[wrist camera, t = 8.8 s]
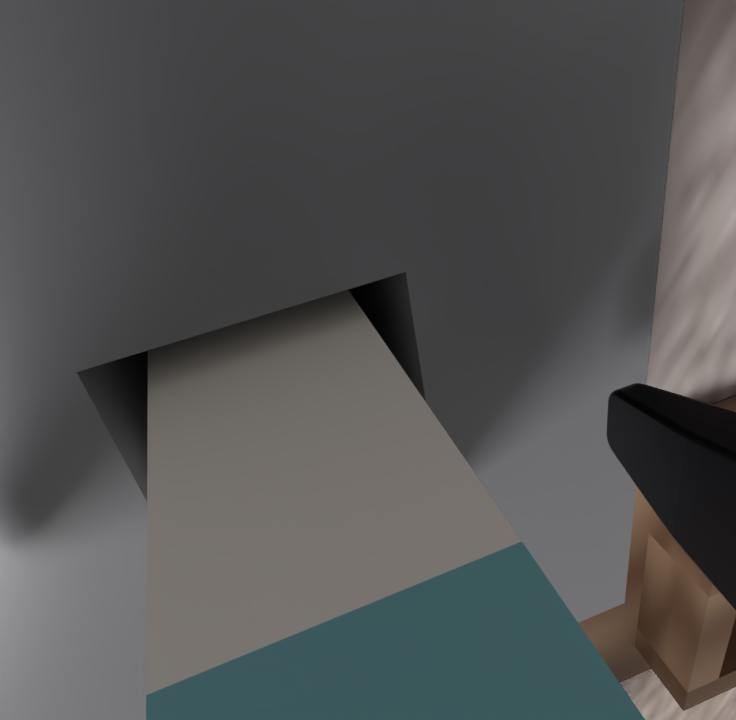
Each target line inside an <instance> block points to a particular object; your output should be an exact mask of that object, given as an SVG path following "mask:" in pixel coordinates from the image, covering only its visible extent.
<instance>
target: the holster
mask: <svg viewBox="0 0 736 720" xmlns="http://www.w3.org/2000/svg"><path fill="white" fill-rule="evenodd" d="M713 405H716V406H719V407H722V408H726V409H729V410H732V411H736V396H734V397H731V398H729V399H726V400H723V401H721V402H718V403H715V404H713ZM579 625H580V626H581V628H582V629H583V631H584V632H585V634H586V635H587V637H588V638H589V639H590V641H591V642H592V644H593V645H594V647H595V648H596V650H597V651H598V652H599V654H600V655H601V657H602V658H603V660H604V661H605V663H606V664H607V665H608V667H609V668H610V670H611V671H612V673H613V674H614V676H615V677H616V679H617V680H618V681H619V683H620V682H622V681H624V680H626V679H629V678H631V677H633V676H635V675H638V674H640V673H642V672H644V671H647V670H649V669H651V668H652V670H653V671H654V672H655V674H656V675H657V676H658V678H659V679H660V680H661V682H662V683H663V684H664V686H665V687H666V688H667V690H668V691H669V692H670V694H671V695H672V696H673V698H674V699H675V700H676V702H677V703H678V704H679V706H680V707H681V708H682V710H683V711H684V710H687V709H689V708H691V707H693V706H695V705H697V704H699V703H702V702H704V701H706V700H708V699H710V698H712V697H715V696H717V695H719V694H721V693H723V692H725V691H728V690H730V689H732V688H734V687H736V610H735V609H734V608H733V607H732V606H731V605H730V603H729V602H728V601H727V600H726V599H725V598H724V596H723V595H722V594H721V593H720V592H719V591H718V589H717V588H716V587H715V586H714V585H713V584H712V583H711V581H710V580H709V579H708V578H707V577H706V576H705V574H704V573H703V572H702V571H701V570H700V569H699V567H698V566H697V565H696V564H695V563H694V562H693V560H692V559H691V558H690V557H689V556H688V555H687V553H686V552H685V551H684V550H683V549H682V548H681V546H680V545H679V544H678V543H677V541H676V540H675V539H674V538H673V537H672V535H671V534H670V533H669V531H668V530H667V529H666V527H665V526H664V525H663V523H662V522H661V520H660V519H659V518H658V516H657V515H656V513H655V512H654V510H653V509H652V508H651V506H650V505H649V503H648V502H647V500H646V499H645V497H644V496H643V495H642V493H641V492H640V490H639V489H638V487H637V486H636V493H635V503H634V513H633V523H632V533H631V543H630V553H629V563H628V573H627V583H626V594H625V603H623V604H621V605H619V606H616V607H614V608H612V609H609V610H607V611H605V612H602V613H600V614H597V615H595V616H593V617H590V618H588V619H586V620H583V621H581V622H579Z"/></svg>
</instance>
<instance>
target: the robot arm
mask: <svg viewBox="0 0 736 720" xmlns="http://www.w3.org/2000/svg"><path fill="white" fill-rule="evenodd" d="M606 434H607V441H608V443H609V446H610V448H611V450H612V451H613V453H614V454H615V456H616V457H617V459H618V460H619V462H620V463H621V464H622V466H623V467H624V469H625V470H626V472H627V473H628V475H629V476H630V477H631V479H632V480H633V482H634V483H635V485H636V486H637V487H638V489H639V490H640V492H641V493H642V495H643V496H644V497H645V499H646V500H647V502H648V503H649V505H650V506H651V508H652V509H653V510H654V512H655V513H656V515H657V516H658V518H659V519H660V520H661V522H662V523H663V525H664V526H665V527H666V529H667V530H668V531H669V533H670V534H671V535H672V537H673V538H674V539H675V540H676V541H677V543H678V544H679V545H680V546H681V548H682V549H683V550H684V551H685V552H686V553H687V555H688V556H689V557H690V558H691V559H692V560H693V562H694V563H695V564H696V565H697V566H698V567H699V569H700V570H701V571H702V572H703V573H704V574H705V576H706V577H707V578H708V579H709V580H710V581H711V583H712V584H713V585H714V586H715V587H716V588H717V589H718V591H719V592H720V593H721V594H722V595H723V596H724V598H725V599H726V600H727V601H728V602H729V603H730V605H731V606H732V607H733V608H734V609H735V610H736V411H732V410H729V409H726V408H722V407H719V406H716V405H712V404H709V403H705V402H702V401H699V400H695V399H692V398H689V397H685V396H682V395H679V394H675V393H672V392H668V391H665V390H662V389H658V388H655V387H652V386H648V385H645V384H641V383H635V384H631V385H628V386H625V387H623V388H620V389H617V390H614V391H613V392H612V393H611V394H610V396H609V399H608V414H607V432H606Z"/></svg>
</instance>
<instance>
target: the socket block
mask: <svg viewBox="0 0 736 720" xmlns="http://www.w3.org/2000/svg"><path fill="white" fill-rule="evenodd" d="M683 9H684V0H0V720H146V657H147V435H148V350H151V349H154V348H158V347H161V346H164V345H167V344H171V343H174V342H177V341H181V340H184V339H187V338H190V337H194V336H197V335H200V334H204V333H207V332H210V331H213V330H217V329H220V328H223V327H227V326H230V325H233V324H236V323H240V322H243V321H246V320H250V319H253V318H256V317H259V316H263V315H266V314H269V313H272V312H276V311H279V310H282V309H286V308H289V307H292V306H295V305H299V304H302V303H305V302H309V301H312V300H315V299H318V298H322V297H325V296H328V295H332V294H335V293H338V292H341V291H345V290H349V292H350V293H351V295H352V296H353V297H354V299H355V300H356V302H357V303H358V305H359V306H360V308H361V309H362V310H363V312H364V313H365V315H366V316H367V318H368V319H369V321H370V322H371V324H372V325H373V326H374V328H375V329H376V331H377V332H378V334H379V335H380V337H381V338H382V339H383V341H384V342H385V344H386V345H387V347H388V348H389V350H390V351H391V352H392V354H393V355H394V357H395V358H396V360H397V361H398V363H399V364H400V366H401V367H402V368H403V370H404V371H405V373H406V374H407V376H408V377H409V379H410V380H411V381H412V383H413V384H414V386H415V387H416V389H417V390H418V392H419V393H420V395H421V396H422V397H423V399H424V400H425V402H426V403H427V405H428V406H429V408H430V409H431V410H432V412H433V413H434V415H435V416H436V418H437V419H438V421H439V422H440V423H441V425H442V426H443V428H444V429H445V431H446V432H447V434H448V435H449V437H450V438H451V439H452V441H453V442H454V444H455V445H456V447H457V448H458V450H459V451H460V452H461V454H462V455H463V457H464V458H465V460H466V461H467V463H468V464H469V466H470V467H471V468H472V470H473V471H474V473H475V474H476V476H477V477H478V479H479V480H480V481H481V483H482V484H483V486H484V487H485V489H486V490H487V492H488V493H489V495H490V496H491V497H492V499H493V500H494V502H495V503H496V505H497V506H498V508H499V509H500V510H501V512H502V513H503V515H504V516H505V518H506V519H507V521H508V522H509V523H510V525H511V526H512V528H513V529H514V531H515V532H516V534H517V535H518V537H519V538H520V539H521V541H522V542H523V544H524V545H525V547H526V548H527V550H528V551H529V552H530V554H531V555H532V557H533V558H534V560H535V561H536V563H537V564H538V566H539V567H540V568H541V570H542V571H543V573H544V574H545V576H546V577H547V579H548V580H549V581H550V583H551V584H552V586H553V587H554V589H555V590H556V592H557V593H558V594H559V596H560V597H561V599H562V600H563V602H564V603H565V605H566V606H567V608H568V609H569V610H570V612H571V613H572V615H573V616H574V618H575V619H576V621H577V622H578V623H579V622H581V621H583V620H586V619H588V618H590V617H593V616H595V615H597V614H600V613H602V612H605V611H607V610H609V609H612V608H614V607H616V606H619V605H621V604H623V603H625V594H626V583H627V573H628V563H629V553H630V543H631V533H632V523H633V513H634V503H635V493H636V485H635V483H634V482H633V480H632V479H631V477H630V476H629V475H628V473H627V472H626V470H625V469H624V467H623V466H622V464H621V463H620V462H619V460H618V459H617V457H616V456H615V454H614V453H613V451H612V450H611V448H610V446H609V443H608V441H607V434H606V432H607V414H608V399H609V396H610V394H611V393H612V392H613V391H614V390H617V389H620V388H623V387H625V386H628V385H631V384H635V383H641V384H645V385H646V382H647V372H648V362H649V351H650V341H651V331H652V321H653V311H654V301H655V291H656V281H657V271H658V261H659V251H660V241H661V230H662V220H663V210H664V200H665V190H666V180H667V170H668V160H669V150H670V140H671V130H672V119H673V109H674V99H675V89H676V79H677V69H678V59H679V49H680V39H681V29H682V19H683Z"/></svg>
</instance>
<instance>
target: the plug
mask: <svg viewBox="0 0 736 720" xmlns="http://www.w3.org/2000/svg"><path fill="white" fill-rule="evenodd" d="M146 720H645V719H644V718H643V716H642V715H641V713H640V712H639V710H638V709H637V708H636V706H635V705H634V703H633V702H632V700H631V699H630V697H629V696H628V694H627V693H626V692H625V690H624V689H623V687H622V686H621V684H620V683H619V681H618V680H617V679H616V677H615V676H614V674H613V673H612V671H611V670H610V668H609V667H608V665H607V664H606V663H605V661H604V660H603V658H602V657H601V655H600V654H599V652H598V651H597V650H596V648H595V647H594V645H593V644H592V642H591V641H590V639H589V638H588V637H587V635H586V634H585V632H584V631H583V629H582V628H581V626H580V625H579V623H578V622H577V621H576V619H575V618H574V616H573V615H572V613H571V612H570V610H569V609H568V608H567V606H566V605H565V603H564V602H563V600H562V599H561V597H560V596H559V594H558V593H557V592H556V590H555V589H554V587H553V586H552V584H551V583H550V581H549V580H548V579H547V577H546V576H545V574H544V573H543V571H542V570H541V568H540V567H539V566H538V564H537V563H536V561H535V560H534V558H533V557H532V555H531V554H530V552H529V551H528V550H527V548H526V547H525V545H524V544H523V542H522V541H521V539H520V538H519V537H518V535H517V534H516V532H515V531H514V529H513V528H512V526H511V525H510V523H509V522H508V521H507V519H506V518H505V516H504V515H503V513H502V512H501V510H500V509H499V508H498V506H497V505H496V503H495V502H494V500H493V499H492V497H491V496H490V495H489V493H488V492H487V490H486V489H485V487H484V486H483V484H482V483H481V481H480V480H479V479H478V477H477V476H476V474H475V473H474V471H473V470H472V468H471V467H470V466H469V464H468V463H467V461H466V460H465V458H464V457H463V455H462V454H461V452H460V451H459V450H458V448H457V447H456V445H455V444H454V442H453V441H452V439H451V438H450V437H449V435H448V434H447V432H446V431H445V429H444V428H443V426H442V425H441V423H440V422H439V421H438V419H437V418H436V416H435V415H434V413H433V412H432V410H431V409H430V408H429V406H428V405H427V403H426V402H425V400H424V399H423V397H422V396H421V395H420V393H419V392H418V390H417V389H416V387H415V386H414V384H413V383H412V381H411V380H410V379H409V377H408V376H407V374H406V373H405V371H404V370H403V368H402V367H401V366H400V364H399V363H398V361H397V360H396V358H395V357H394V355H393V354H392V352H391V351H390V350H389V348H388V347H387V345H386V344H385V342H384V341H383V339H382V338H381V337H380V335H379V334H378V332H377V331H376V329H375V328H374V326H373V325H372V324H371V322H370V321H369V319H368V318H367V316H366V315H365V313H364V312H363V310H362V309H361V308H360V306H359V305H358V303H357V302H356V300H355V299H354V297H353V296H352V295H351V293H350V292H349V290H345V291H341V292H338V293H335V294H332V295H328V296H325V297H322V298H318V299H315V300H312V301H309V302H305V303H302V304H299V305H295V306H292V307H289V308H286V309H282V310H279V311H276V312H272V313H269V314H266V315H263V316H259V317H256V318H253V319H250V320H246V321H243V322H240V323H236V324H233V325H230V326H227V327H223V328H220V329H217V330H213V331H210V332H207V333H204V334H200V335H197V336H194V337H190V338H187V339H184V340H181V341H177V342H174V343H171V344H167V345H164V346H161V347H158V348H154V349H151V350H148V435H147V657H146Z"/></svg>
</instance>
